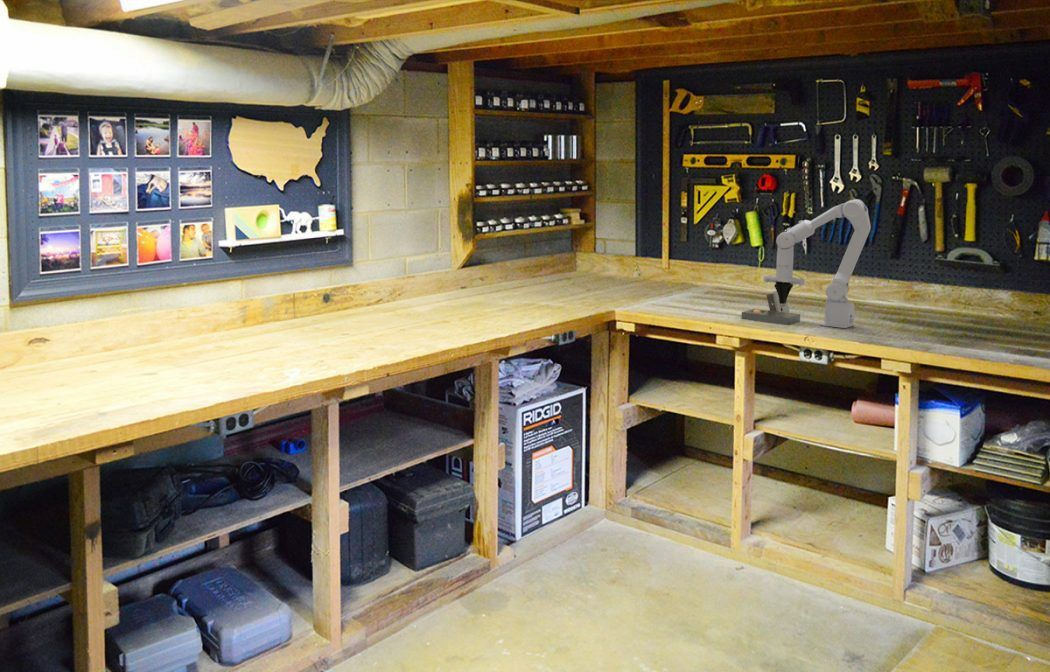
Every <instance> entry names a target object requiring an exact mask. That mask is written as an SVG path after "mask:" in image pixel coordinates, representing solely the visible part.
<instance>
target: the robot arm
mask: <svg viewBox="0 0 1050 672" xmlns="http://www.w3.org/2000/svg"><path fill="white" fill-rule="evenodd" d="M837 218H839V219H841V218H846V219H847V220H848V221H849V222H850V223H851V225H852V228H853V230H854V231H853V234H852V236H851V238H850V240H849V242H848V245H847V247H846V251H845V253H844V255H843V257H842V259H841V263H840V265H839V267H838V270H836V271H837V272H836V273H835V276H834V278H833V279H832V281H831V283H829V284H828V286H826V288H825V295H826V296H827V297H826V298H825V308H824V309H825V310H824V321H823V322H822V323H819V326H826V327H835V328H840V329H841V328H842V329H848V328H851V327H854V326H855V309H856V307H855V303H854V302H852V301H848V297H847V296H846V295H848V293H849V289H850V288H849V287H850V286H849V284H850V281H851V277H852V274H853V272H854V270H855V267H856V265H857V263H858V260H859V257H860V255H861V253H862V251H863V248H864V245H865V243H866V241H867V240H868V239H867V238H868V236H869V234H870V232H871V228H872V227H871V222H870V221H871V220H870V216H869V208H868V207H867V206H866V204H865V203H864V202H863V200H861V199H859V198H854V199H851V200H847V201H846V202H844V203H840V204H838V205H836V206H833V207H831V208H829V209H828V210H826V211H825V212H823V213H821V214H819V215H818V216H816V217H815V218H813V219H812V220H808V219H804V220H802V219H801V220H799V221H798V223H797V224H794V226H792V227H788V228H786V231H783V232H780V234H778V235H777V237H776V240H775V243H776V245H777V252H776V270H775V276H772V275H771V276H770V275H769V276H768V275H766V276H764V277H763V283H775V284H774V288H775V291H777V293H778V296H779V300H780V304H785V303H786V300H787V301H788V297H789V294H790V292H791V290H792V288H793V287H794V285H800V286H804V285H805V279H804V278H797V277H794V276H793V275H794V249H795V248H794V247H795V245H796V243H800V242H801V241H803V240H805V239H806V238H809V237H811V236H812V235H814V234H815V230H816V229H817V228H820V226H823V225H825V224H826V223H827V224H828V223H829V222H830V221H832V220H834V219H837Z"/></svg>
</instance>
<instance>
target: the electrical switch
mask: <svg viewBox="0 0 1050 672" xmlns="http://www.w3.org/2000/svg"><path fill="white" fill-rule="evenodd" d="M766 299H767V303H768V307H769V311H778V312H786V313H790V308H789V304H788V299H787V300H786V303H785V304H780V300H779V296H778V293H777V290H774V291H772V292H771V293H769V294H766Z"/></svg>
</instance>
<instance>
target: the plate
mask: <svg viewBox="0 0 1050 672" xmlns="http://www.w3.org/2000/svg"><path fill="white" fill-rule="evenodd" d="M754 310H760V311H761V313H757V312H753V311H754ZM740 319H742V320H747V319H748V321H756V322H764V323H770V322H771V323H772V324H778V325H787V326H788V325H791V324H795V323H798V322H800V321H801V314H800V313H796V312H795V313H793V312H789V313H786V312H778V311H770V309H769V310H768V309H759V308H751V309H749V310H745V311H741V318H740ZM771 323H770V324H771Z"/></svg>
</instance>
